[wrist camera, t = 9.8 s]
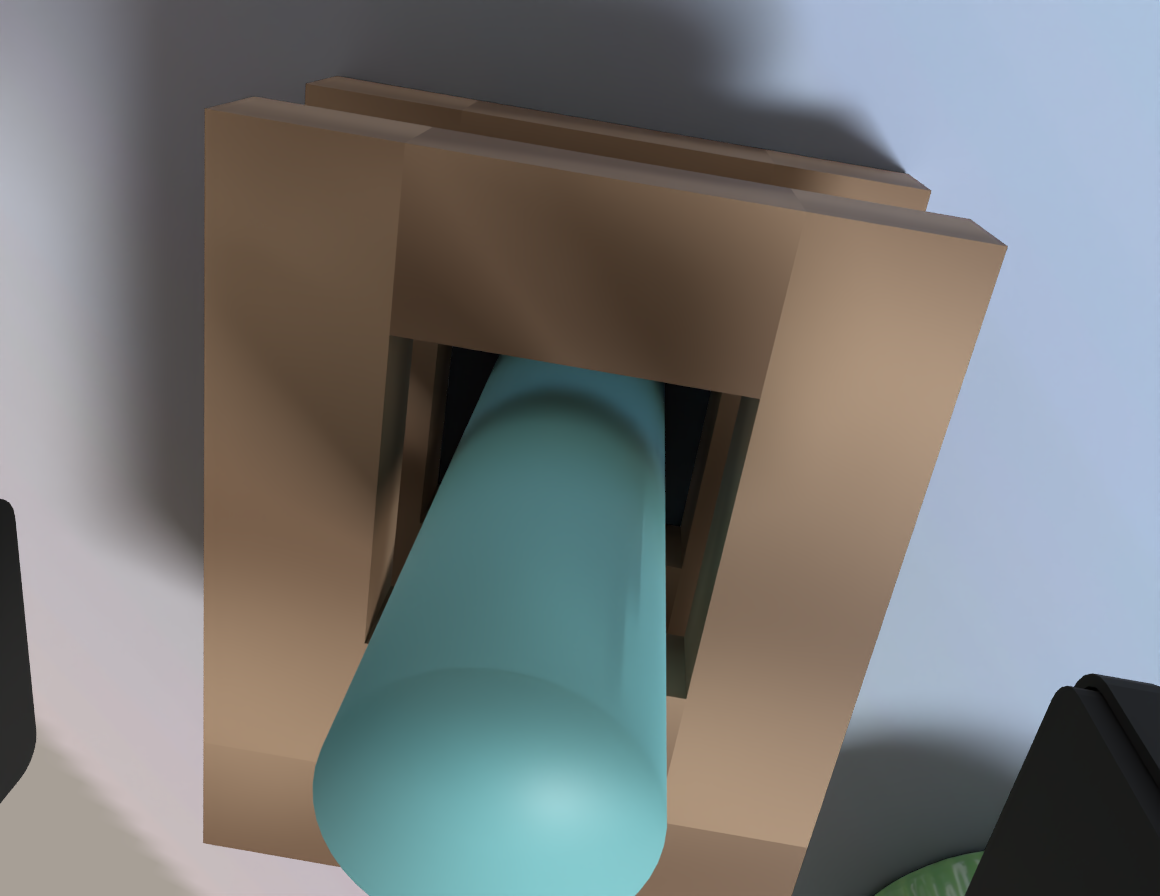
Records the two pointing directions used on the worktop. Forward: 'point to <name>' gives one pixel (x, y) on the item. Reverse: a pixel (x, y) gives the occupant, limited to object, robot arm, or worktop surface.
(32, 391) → the worktop surface
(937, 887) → the ramekin
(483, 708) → the peg
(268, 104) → the block
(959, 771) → the worktop surface
